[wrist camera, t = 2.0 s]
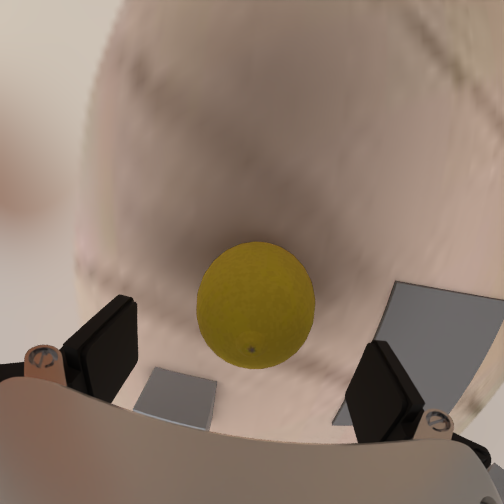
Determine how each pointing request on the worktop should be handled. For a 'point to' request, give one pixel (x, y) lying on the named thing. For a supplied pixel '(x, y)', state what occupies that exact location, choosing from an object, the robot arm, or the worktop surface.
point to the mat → (437, 340)
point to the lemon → (255, 305)
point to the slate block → (178, 399)
